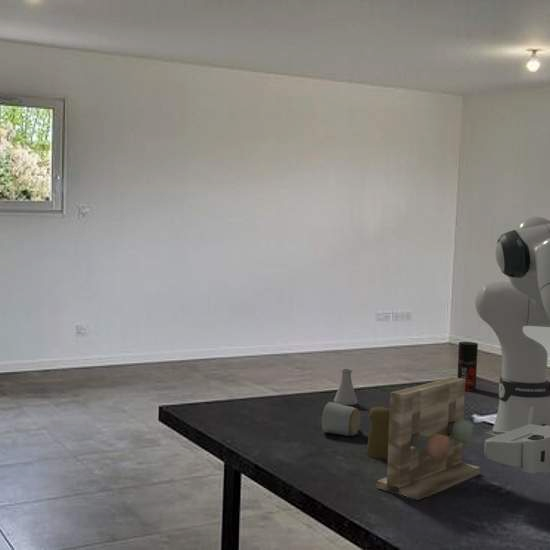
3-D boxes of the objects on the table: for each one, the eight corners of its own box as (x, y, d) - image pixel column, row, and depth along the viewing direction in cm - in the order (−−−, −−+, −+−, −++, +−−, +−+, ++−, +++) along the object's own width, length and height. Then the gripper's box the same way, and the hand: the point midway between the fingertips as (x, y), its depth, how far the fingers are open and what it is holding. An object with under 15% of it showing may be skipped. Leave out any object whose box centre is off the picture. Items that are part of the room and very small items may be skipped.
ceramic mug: (351, 439, 196) (352, 408, 196) (320, 435, 200) (321, 404, 199) (365, 430, 206) (366, 401, 205) (336, 426, 209) (337, 397, 209)
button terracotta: (449, 456, 158) (450, 434, 158) (437, 461, 155) (438, 438, 154) (418, 448, 163) (419, 426, 163) (406, 453, 160) (407, 430, 159)
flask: (334, 399, 240) (335, 366, 239) (358, 401, 239) (359, 368, 238) (332, 405, 232) (333, 371, 232) (357, 406, 231) (358, 372, 231)
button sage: (472, 440, 170) (473, 419, 170) (461, 444, 167) (462, 423, 166) (443, 433, 175) (444, 413, 175) (432, 437, 172) (433, 416, 171)
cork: (364, 450, 188) (366, 404, 187) (390, 451, 188) (392, 405, 187) (366, 458, 182) (368, 410, 181) (393, 458, 182) (395, 411, 181)
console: (479, 474, 172) (484, 382, 171) (418, 500, 155) (422, 399, 153) (439, 463, 179) (443, 375, 178) (376, 487, 162) (379, 390, 160)
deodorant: (475, 387, 262) (477, 342, 261) (475, 391, 256) (477, 345, 255) (457, 386, 263) (459, 341, 262) (456, 390, 257) (458, 344, 256)
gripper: (573, 424, 163) (510, 412, 172) (527, 442, 148) (461, 428, 158) (571, 455, 163) (509, 441, 173) (526, 476, 148) (460, 459, 158)
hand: (486, 435), depth 165 cm, fingers closed
